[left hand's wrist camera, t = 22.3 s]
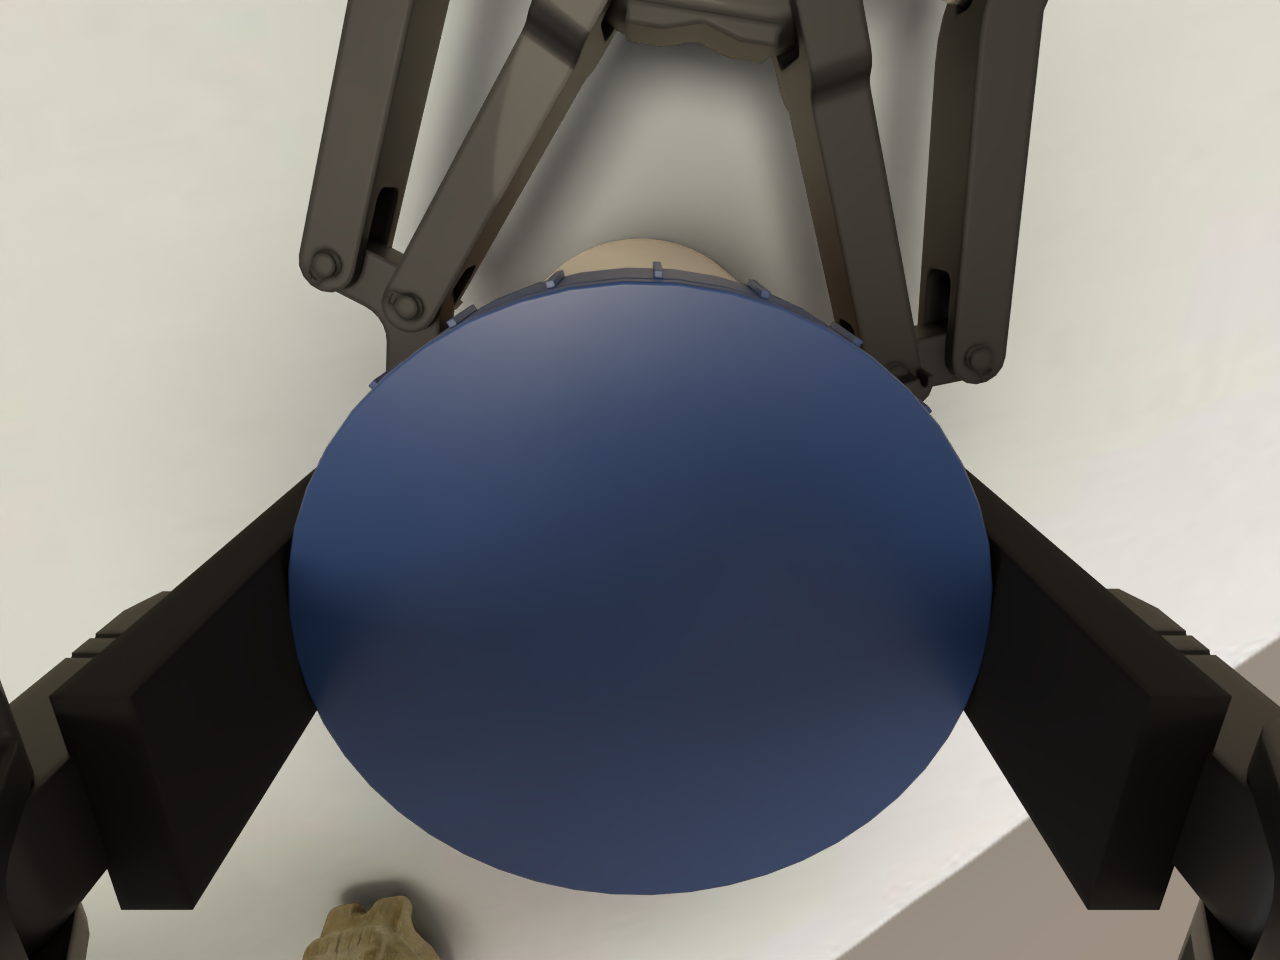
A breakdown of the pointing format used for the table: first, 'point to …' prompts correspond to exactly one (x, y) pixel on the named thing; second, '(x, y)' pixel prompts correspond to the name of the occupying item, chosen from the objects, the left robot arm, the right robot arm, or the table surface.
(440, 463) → the lid
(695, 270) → the jar
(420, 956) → the sculpture
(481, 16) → the table surface
